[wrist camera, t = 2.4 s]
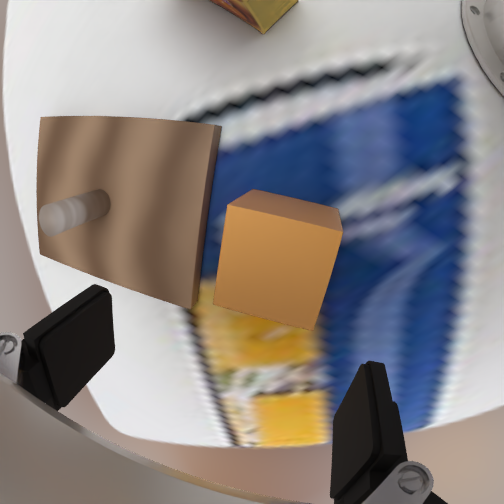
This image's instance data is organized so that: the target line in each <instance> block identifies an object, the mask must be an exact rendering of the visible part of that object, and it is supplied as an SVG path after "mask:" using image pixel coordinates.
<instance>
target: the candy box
mask: <svg viewBox="0 0 504 504" xmlns="http://www.w3.org/2000/svg"><path fill="white" fill-rule="evenodd" d="M210 1H212V2H214V3H215V4H217V5H219V6H221V7H222V8H224V9H226V10H227V11H229V12H231V13H232V14H234V15H235V16H237V17H239V18H240V19H242V20H243V21H245V22H247V23H248V24H250V25H251V26H253V27H254V28H256V29H257V30H258V31H260V32H261V33H262V34H265V32H266V31H267V30H268V29H269V28H270V27H271V26H272V25H273V24H274V23H275V22H276V21H277V20H278V19H279V18H280V17H281V16H282V15H283V14H284V13H286V12H287V11H288V10H289V9H290V8H291V7H292V6H293V5H294V4H295V3H296V2H298V0H210Z"/></svg>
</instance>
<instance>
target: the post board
mask: <svg viewBox="0 0 504 504" xmlns="http://www.w3.org/2000/svg"><path fill="white" fill-rule="evenodd" d="M221 128H222V126H218V125H211V124H203V123H194V122H185V121H175V120H163V119H150V118H134V117H110V116H57V117H41V119H40V129H39V140H38V156H37V221H38V237H39V249H40V254H41V255H43V256H45V257H48V258H50V259H53V260H55V261H57V262H60V263H62V264H65V265H67V266H70V267H72V268H75V269H77V270H80V271H82V272H85V273H88V274H90V275H93V276H95V277H98V278H101V279H103V280H106V281H109V282H111V283H114V284H117V285H120V286H122V287H125V288H128V289H131V290H134V291H137V292H139V293H142V294H145V295H148V296H151V297H154V298H157V299H160V300H163V301H166V302H169V303H172V304H175V305H178V306H181V307H184V308H188V309H191V308H192V307H193V306H194V305H195V303H196V302H197V301H198V292H199V282H200V274H201V265H202V257H203V249H204V241H205V233H206V226H207V218H208V211H209V204H210V197H211V190H212V183H213V177H214V170H215V164H216V158H217V151H218V145H219V139H220V133H221Z"/></svg>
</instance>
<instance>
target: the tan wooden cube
mask: <svg viewBox="0 0 504 504" xmlns="http://www.w3.org/2000/svg"><path fill="white" fill-rule="evenodd" d="M342 234H343V229H342V224H341V220H340V215H339V211H338V209H337V208H333V207H329V206H325V205H321V204H317V203H313V202H309V201H305V200H300V199H296V198H292V197H287V196H283V195H279V194H274V193H270V192H265V191H261V190H256V189H252V190H251V191H249V192H247V193H246V194H244V195H242V196H241V197H239V198H237V199H236V200H234V201H233V202H231V203H229V204H228V205H227V212H226V218H225V225H224V231H223V238H222V244H221V251H220V258H219V265H218V272H217V279H216V286H215V293H214V301H213V304H214V305H217V306H221V307H224V308H228V309H231V310H235V311H238V312H242V313H245V314H249V315H253V316H256V317H260V318H264V319H268V320H271V321H275V322H279V323H283V324H287V325H291V326H295V327H299V328H303V329H307V330H311V331H313V329H314V326H315V323H316V320H317V317H318V314H319V311H320V308H321V305H322V302H323V299H324V296H325V292H326V289H327V286H328V283H329V279H330V276H331V273H332V269H333V266H334V263H335V259H336V256H337V252H338V249H339V245H340V242H341V238H342Z"/></svg>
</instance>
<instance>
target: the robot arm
mask: <svg viewBox="0 0 504 504" xmlns="http://www.w3.org/2000/svg"><path fill="white" fill-rule="evenodd" d="M462 18H463V25H464V28H465V31H466V35H467V38H468V41H469V43H470V45H471V47H472V50H473V52H474V54H475V56H476V58H477V60H478V61H479V63H480V65H481V67H482V69H483V70H484V71H485V73H486V74H487V76H488V77H489V79H490V80H491V82H492V83H493V84H494V85H495V87H496V88H497V89H498V90H499V91H500V93H501V94H502V95H503V96H504V0H462ZM23 335H24V339H23V340H22V341H21V339H20V337H19V336H18V335H16V334H14V333H10V332H4V333H0V504H310V503H302V502H297V501H291V500H285V499H280V498H275V497H270V496H265V495H260V494H256V493H251V492H247V491H243V490H239V489H235V488H232V487H228V486H224V485H221V484H217V483H214V482H211V481H208V480H204V479H201V478H198V477H195V476H192V475H189V474H186V473H184V472H181V471H178V470H175V469H172V468H170V467H167V466H165V465H162V464H160V463H157V462H155V461H152V460H150V459H148V458H145V457H143V456H141V455H138V454H136V453H133V452H132V451H130V450H127V449H125V448H123V447H121V446H119V445H117V444H115V443H113V442H111V441H109V440H107V439H105V438H103V437H101V436H99V435H97V434H95V433H94V432H92V431H90V430H88V429H86V428H85V427H83V426H81V425H79V424H78V423H76V422H74V421H72V420H71V419H69V418H67V417H66V416H64V415H63V414H61V413H59V412H58V410H59V409H60V408H61V407H65V406H67V405H68V404H69V402H70V401H71V400H72V399H73V398H74V397H75V396H76V395H77V394H78V392H80V390H81V389H82V388H83V387H84V386H85V385H86V384H87V383H88V382H89V381H90V380H91V379H92V378H93V376H94V375H95V374H96V373H97V372H98V371H99V370H100V369H101V368H102V367H103V366H104V365H105V364H106V363H107V362H108V360H109V359H110V358H111V357H112V356H113V354H114V352H115V342H114V329H113V314H112V296H111V294H110V293H109V291H108V289H107V288H104V287H102V286H99V285H96V284H94V285H92V286H90V287H89V288H87V289H86V290H84V291H83V292H81V293H80V294H78V295H77V296H75V297H74V298H72V299H71V300H69V301H68V302H67V303H65V304H64V305H62V306H61V307H59V308H58V309H56V310H55V311H54V312H52V313H51V314H49V315H48V316H47V317H45V318H44V319H42V320H41V321H40V322H38V323H37V324H35V325H34V326H33V327H31V328H30V329H28V330H27V331H26V332H25V333H23ZM45 403H46V404H45ZM433 481H434V480H433V477H432V474H431V473H430V471H429V469H428V468H426V467H425V466H424V465H422V464H420V463H418V462H414V461H408V459H407V453H406V447H405V441H404V435H403V430H402V425H401V420H400V415H399V410H398V406H397V403H396V402H393V401H392V396H391V391H390V387H389V382H388V378H387V373H386V369H385V365H384V364H383V363H379V362H374V361H368V362H367V363H366V364H361V365H360V367H359V369H358V371H357V373H356V375H355V377H354V379H353V381H352V383H351V385H350V387H349V389H348V391H347V393H346V395H345V397H344V399H343V401H342V403H341V404H340V406H339V408H338V410H337V412H336V414H335V416H334V420H333V446H332V469H331V487H330V497H331V498H333V499H334V504H448V503H446V502H445V501H444V500H442V499H441V498H440V497H438V496H437V495H436V494H434V493H433V492H432V491H431V490H432V488H433Z"/></svg>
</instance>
